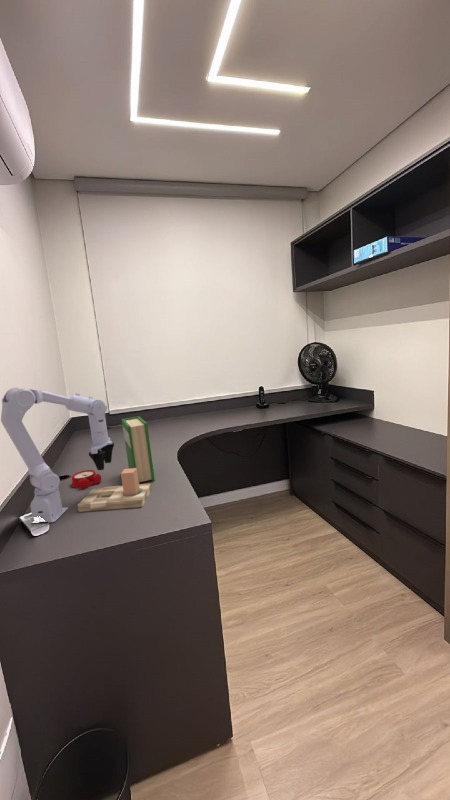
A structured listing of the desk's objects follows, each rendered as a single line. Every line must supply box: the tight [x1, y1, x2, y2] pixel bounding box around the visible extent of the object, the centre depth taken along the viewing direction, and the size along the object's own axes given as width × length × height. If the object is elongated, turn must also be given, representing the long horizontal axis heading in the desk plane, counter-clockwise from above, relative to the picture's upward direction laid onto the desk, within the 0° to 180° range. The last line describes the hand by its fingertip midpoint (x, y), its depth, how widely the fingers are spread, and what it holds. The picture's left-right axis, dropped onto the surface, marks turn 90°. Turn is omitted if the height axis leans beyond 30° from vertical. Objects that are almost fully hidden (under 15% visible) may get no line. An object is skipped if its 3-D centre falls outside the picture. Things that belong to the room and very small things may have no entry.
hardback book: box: [121, 415, 156, 483], centre depth 144 cm, size 18×7×24 cm, turn 24°
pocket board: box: [77, 482, 153, 513], centre depth 124 cm, size 14×22×3 cm, turn 89°
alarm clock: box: [68, 469, 102, 490], centre depth 143 cm, size 10×6×15 cm
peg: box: [120, 468, 140, 495], centre depth 123 cm, size 4×4×8 cm
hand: (104, 466), depth 131 cm, fingers open, 7 cm apart
